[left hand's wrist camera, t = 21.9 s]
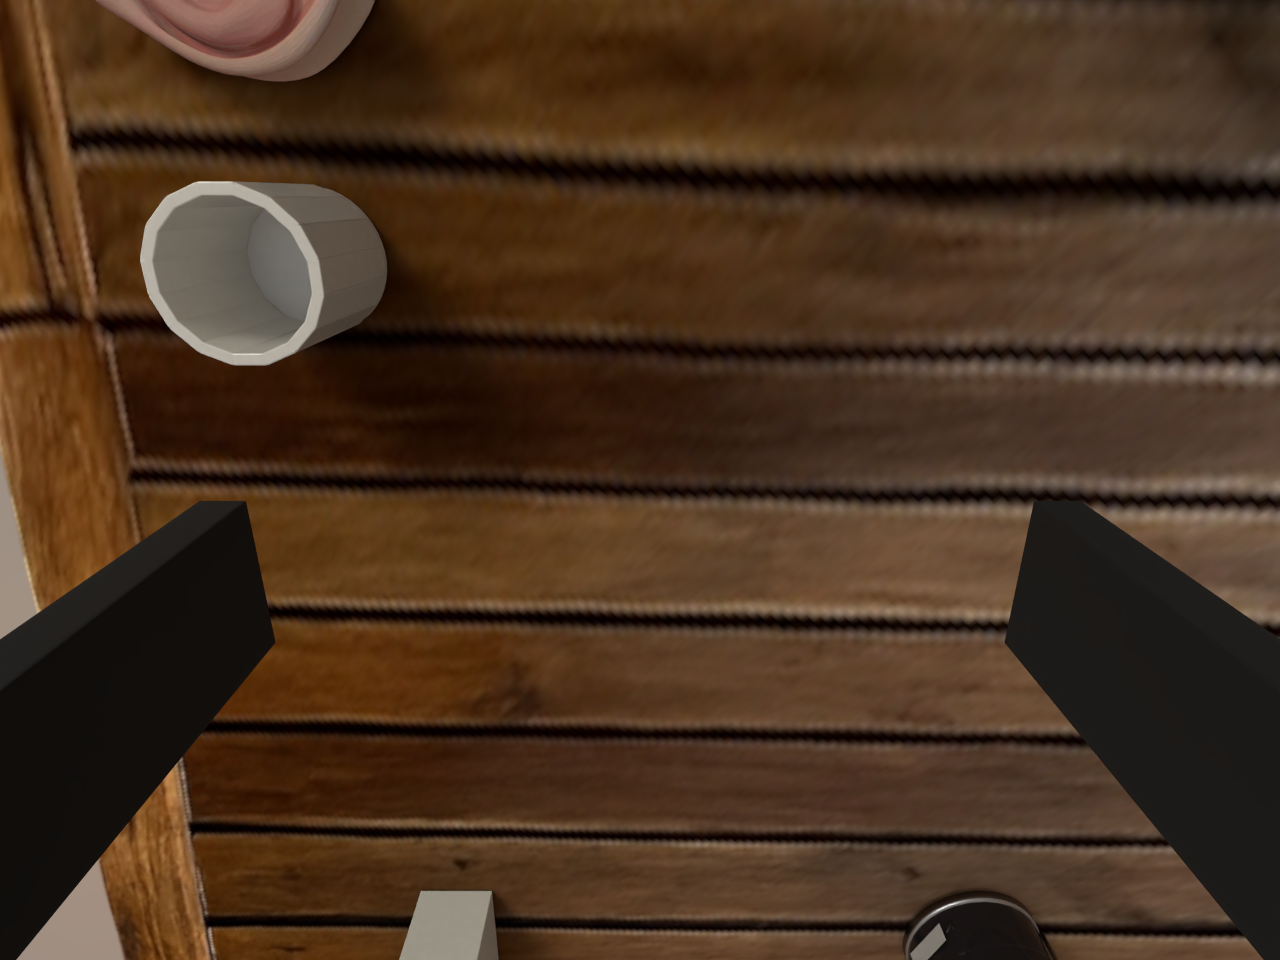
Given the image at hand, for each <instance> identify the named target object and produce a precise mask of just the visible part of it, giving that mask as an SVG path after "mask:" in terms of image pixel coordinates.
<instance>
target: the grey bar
mask: <svg viewBox="0 0 1280 960" xmlns="http://www.w3.org/2000/svg"><path fill="white" fill-rule="evenodd" d="M399 960H499V957H498V947H497V937H496V927H495V917H494V907H493V897H492V891H421V893H420V896H419V899H418V902H417V905H416V909H415V912H414V915H413V918H412V921H411V924H410V928H409V931H408V934H407V937H406V940H405V943H404V947H403V950H402V953H401V956H400V959H399Z"/></svg>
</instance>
